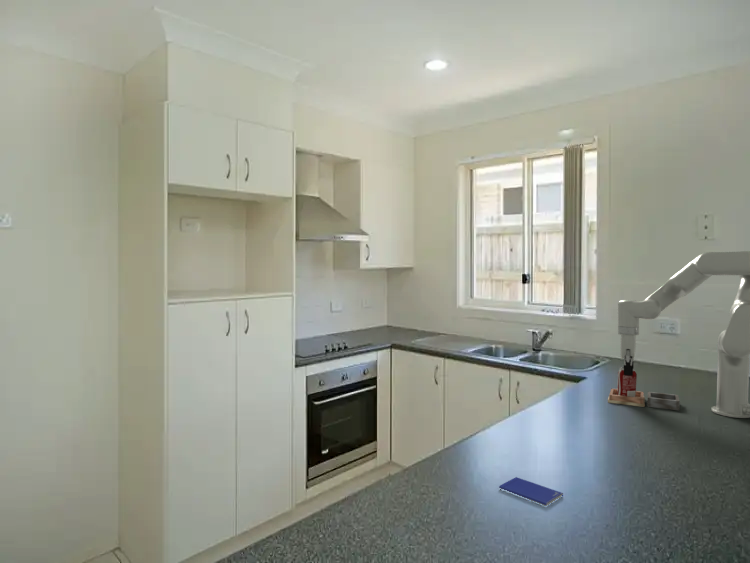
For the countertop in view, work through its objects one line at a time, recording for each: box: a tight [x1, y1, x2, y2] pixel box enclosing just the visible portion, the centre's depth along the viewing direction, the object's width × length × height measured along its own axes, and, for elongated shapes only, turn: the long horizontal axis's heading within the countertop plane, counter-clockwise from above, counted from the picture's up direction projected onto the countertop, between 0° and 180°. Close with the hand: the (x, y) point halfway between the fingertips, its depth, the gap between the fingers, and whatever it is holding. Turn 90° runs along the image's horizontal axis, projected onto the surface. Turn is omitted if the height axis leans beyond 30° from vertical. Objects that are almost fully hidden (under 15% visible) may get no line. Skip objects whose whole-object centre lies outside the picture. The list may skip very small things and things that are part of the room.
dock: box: [607, 388, 681, 411], centre depth 202 cm, size 25×13×4 cm, turn 62°
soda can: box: [616, 366, 638, 397], centre depth 205 cm, size 7×7×12 cm
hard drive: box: [498, 476, 564, 506], centre depth 122 cm, size 2×8×12 cm
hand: (628, 373), depth 205 cm, fingers open, 9 cm apart
